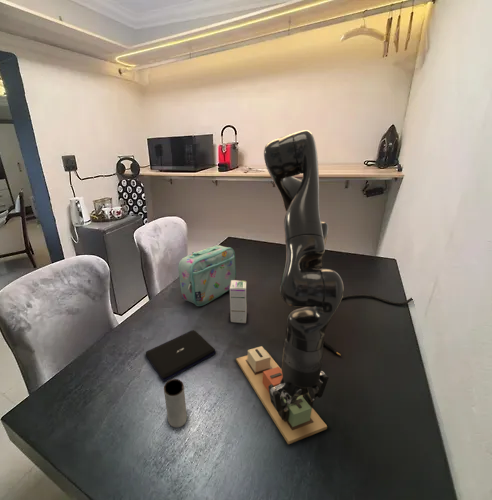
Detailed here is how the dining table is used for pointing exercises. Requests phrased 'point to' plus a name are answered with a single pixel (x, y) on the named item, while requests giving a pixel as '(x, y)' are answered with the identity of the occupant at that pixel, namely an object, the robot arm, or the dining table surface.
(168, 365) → the laptop
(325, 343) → the fountain pen
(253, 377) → the wood board
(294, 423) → the green plus block
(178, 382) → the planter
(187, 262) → the lunch box
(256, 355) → the cream slotted cube
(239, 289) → the syrup box
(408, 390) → the dining table surface
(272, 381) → the orange slotted cube
